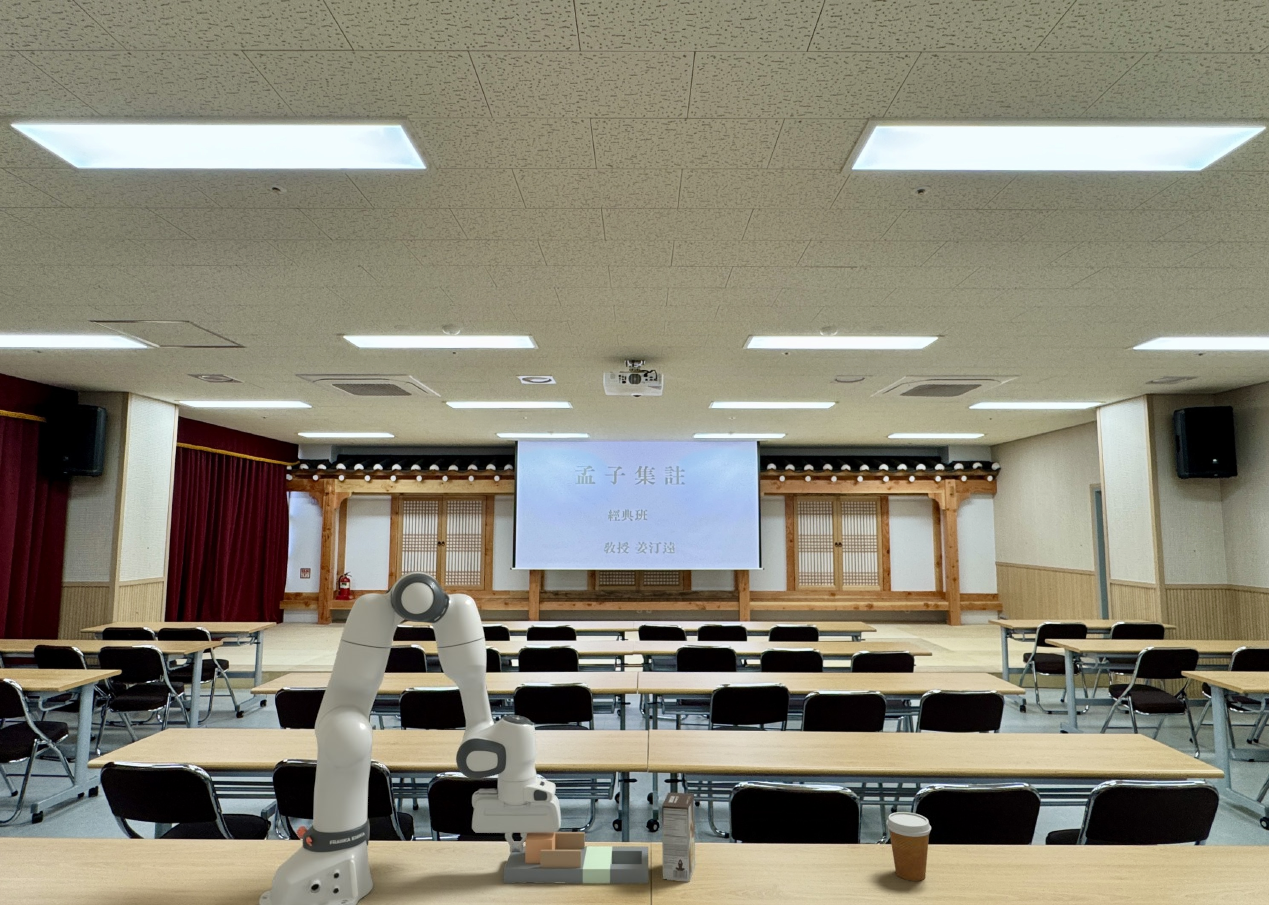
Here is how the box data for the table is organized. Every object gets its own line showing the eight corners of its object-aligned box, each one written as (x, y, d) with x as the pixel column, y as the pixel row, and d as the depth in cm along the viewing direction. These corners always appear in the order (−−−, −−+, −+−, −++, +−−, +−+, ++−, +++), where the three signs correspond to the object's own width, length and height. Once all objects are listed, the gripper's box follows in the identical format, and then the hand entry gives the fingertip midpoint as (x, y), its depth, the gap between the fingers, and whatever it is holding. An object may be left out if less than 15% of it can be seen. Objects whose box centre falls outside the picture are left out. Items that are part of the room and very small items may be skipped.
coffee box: (668, 862, 178) (667, 791, 179) (695, 864, 176) (694, 792, 178) (662, 880, 169) (661, 805, 170) (690, 882, 168) (689, 807, 169)
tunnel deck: (503, 883, 168) (504, 852, 168) (513, 859, 180) (513, 830, 180) (648, 883, 167) (648, 852, 168) (648, 859, 179) (648, 830, 180)
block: (525, 862, 171) (525, 839, 171) (529, 851, 177) (529, 829, 177) (551, 862, 171) (552, 839, 171) (555, 851, 177) (555, 829, 177)
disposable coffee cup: (882, 865, 176) (880, 811, 177) (923, 865, 176) (921, 811, 177) (896, 884, 166) (894, 827, 167) (940, 884, 166) (937, 827, 167)
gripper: (469, 793, 173) (468, 857, 171) (558, 793, 172) (558, 857, 171) (475, 784, 179) (474, 845, 177) (561, 784, 178) (561, 845, 177)
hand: (516, 851), depth 174 cm, fingers closed
